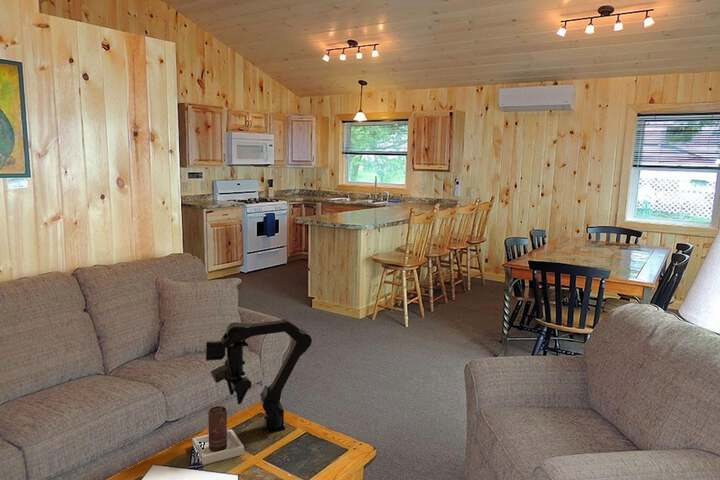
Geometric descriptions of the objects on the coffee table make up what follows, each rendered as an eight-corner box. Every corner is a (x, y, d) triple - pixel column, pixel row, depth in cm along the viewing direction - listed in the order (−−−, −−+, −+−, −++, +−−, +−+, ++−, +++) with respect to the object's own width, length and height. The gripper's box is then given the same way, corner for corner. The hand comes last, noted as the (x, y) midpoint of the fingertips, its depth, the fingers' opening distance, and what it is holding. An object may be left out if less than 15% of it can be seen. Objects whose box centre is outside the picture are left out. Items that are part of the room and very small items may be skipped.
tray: (231, 436, 191) (231, 429, 190) (244, 454, 179) (244, 446, 178) (192, 445, 184) (192, 438, 183) (202, 465, 172) (202, 457, 171)
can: (230, 443, 184) (229, 405, 182) (223, 453, 178) (222, 413, 176) (213, 442, 185) (212, 404, 183) (206, 451, 178) (205, 412, 177)
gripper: (206, 353, 194) (206, 394, 196) (220, 370, 178) (220, 414, 180) (235, 349, 199) (236, 388, 201) (251, 364, 183) (252, 407, 185)
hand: (235, 399), depth 192 cm, fingers open, 9 cm apart
